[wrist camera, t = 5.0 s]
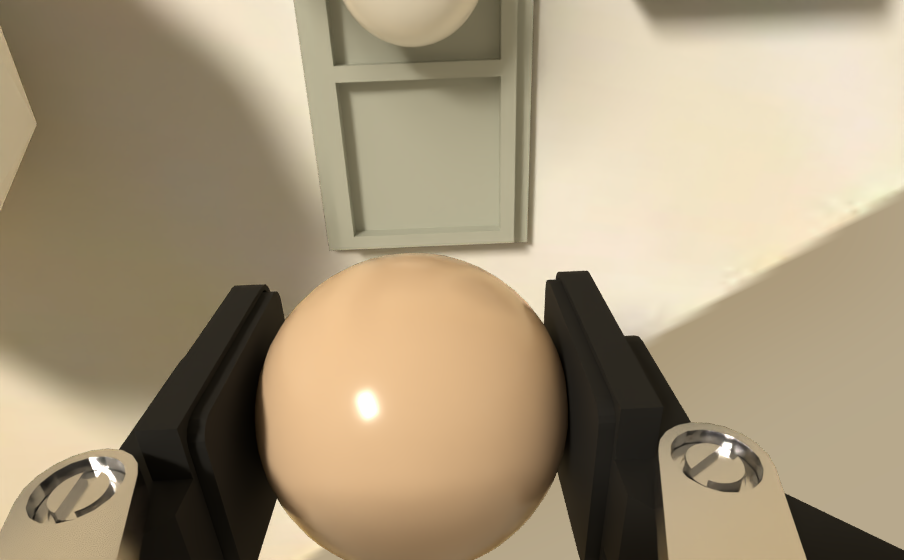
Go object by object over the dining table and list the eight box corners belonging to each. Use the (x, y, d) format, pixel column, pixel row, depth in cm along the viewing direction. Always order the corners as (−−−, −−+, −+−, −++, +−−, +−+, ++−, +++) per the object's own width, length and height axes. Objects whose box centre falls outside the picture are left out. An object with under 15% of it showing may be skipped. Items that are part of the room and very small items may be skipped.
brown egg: (545, 203, 10) (626, 360, 6) (536, 415, 13) (590, 642, 8) (275, 214, 10) (154, 380, 6) (314, 425, 13) (248, 657, 8)
